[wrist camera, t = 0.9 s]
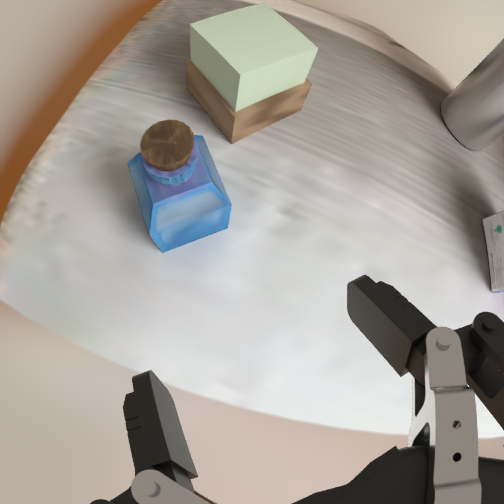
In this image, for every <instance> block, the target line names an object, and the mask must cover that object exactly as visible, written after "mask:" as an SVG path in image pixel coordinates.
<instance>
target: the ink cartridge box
mask: <svg viewBox="0 0 504 504" xmlns="http://www.w3.org/2000/svg"><path fill="white" fill-rule="evenodd" d="M483 226H484V231H485V237H486V243H487V250H488V258H489V267H490V276H491V287H492V292H494V293H495V292H504V211H501V212H499V213H496V214H494V215H492V216H489V217H487V218H484V219H483Z"/></svg>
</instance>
